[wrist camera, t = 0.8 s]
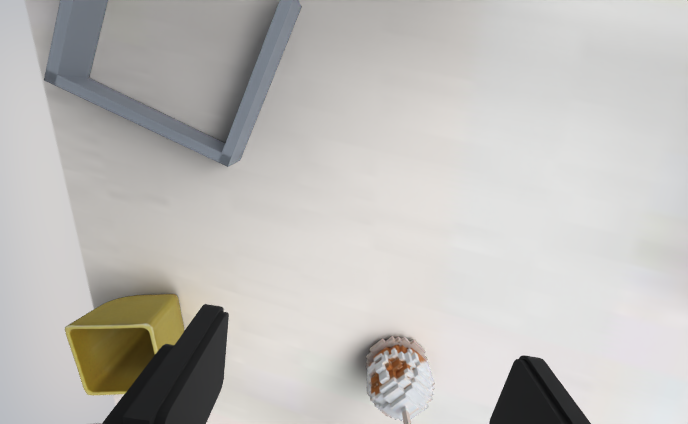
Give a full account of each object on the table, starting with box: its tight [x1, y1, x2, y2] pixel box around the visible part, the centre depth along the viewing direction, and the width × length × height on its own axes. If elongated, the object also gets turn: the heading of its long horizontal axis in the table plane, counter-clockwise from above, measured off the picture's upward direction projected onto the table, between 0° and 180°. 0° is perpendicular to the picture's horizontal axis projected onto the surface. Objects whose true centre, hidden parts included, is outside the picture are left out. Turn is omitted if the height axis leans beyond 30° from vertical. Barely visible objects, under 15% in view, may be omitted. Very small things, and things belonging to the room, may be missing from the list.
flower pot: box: [65, 294, 184, 395], centre depth 39 cm, size 9×9×9 cm
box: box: [44, 0, 301, 167], centre depth 32 cm, size 16×18×4 cm
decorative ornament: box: [366, 336, 435, 424], centre depth 38 cm, size 8×8×15 cm
